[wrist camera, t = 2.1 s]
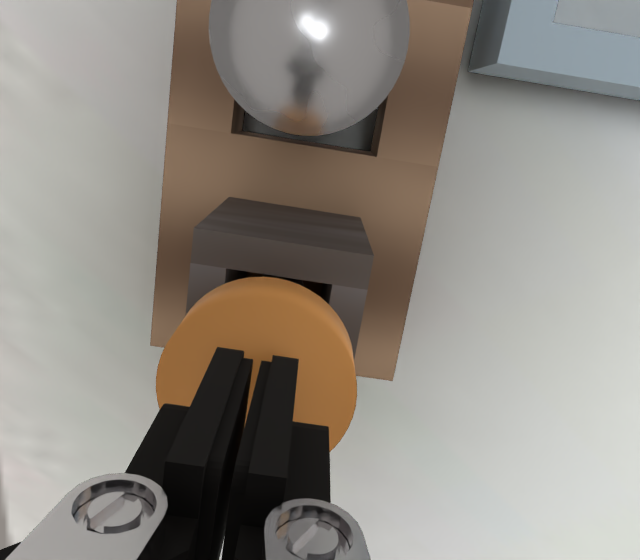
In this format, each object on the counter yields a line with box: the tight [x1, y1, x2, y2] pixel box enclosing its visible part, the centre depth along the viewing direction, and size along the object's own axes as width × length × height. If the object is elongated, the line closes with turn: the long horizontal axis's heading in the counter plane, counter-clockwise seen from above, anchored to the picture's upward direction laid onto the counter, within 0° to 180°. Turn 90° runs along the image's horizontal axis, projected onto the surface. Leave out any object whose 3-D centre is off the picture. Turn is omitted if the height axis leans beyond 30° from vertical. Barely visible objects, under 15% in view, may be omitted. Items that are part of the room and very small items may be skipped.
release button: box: [156, 274, 357, 452], centre depth 16 cm, size 4×4×8 cm
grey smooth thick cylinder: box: [209, 0, 410, 136], centre depth 17 cm, size 4×4×12 cm
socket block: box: [150, 0, 474, 381], centre depth 19 cm, size 16×10×9 cm, turn 171°
